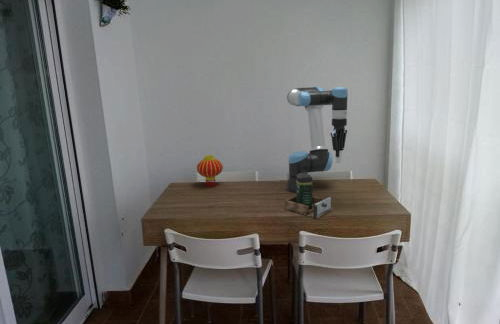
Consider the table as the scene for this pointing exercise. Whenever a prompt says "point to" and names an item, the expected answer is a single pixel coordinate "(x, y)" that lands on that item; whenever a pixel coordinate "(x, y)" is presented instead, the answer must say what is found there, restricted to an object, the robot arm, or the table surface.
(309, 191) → the coffee jar
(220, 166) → the lantern
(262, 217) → the table surface
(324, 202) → the grey flat panel
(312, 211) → the open wooden box
